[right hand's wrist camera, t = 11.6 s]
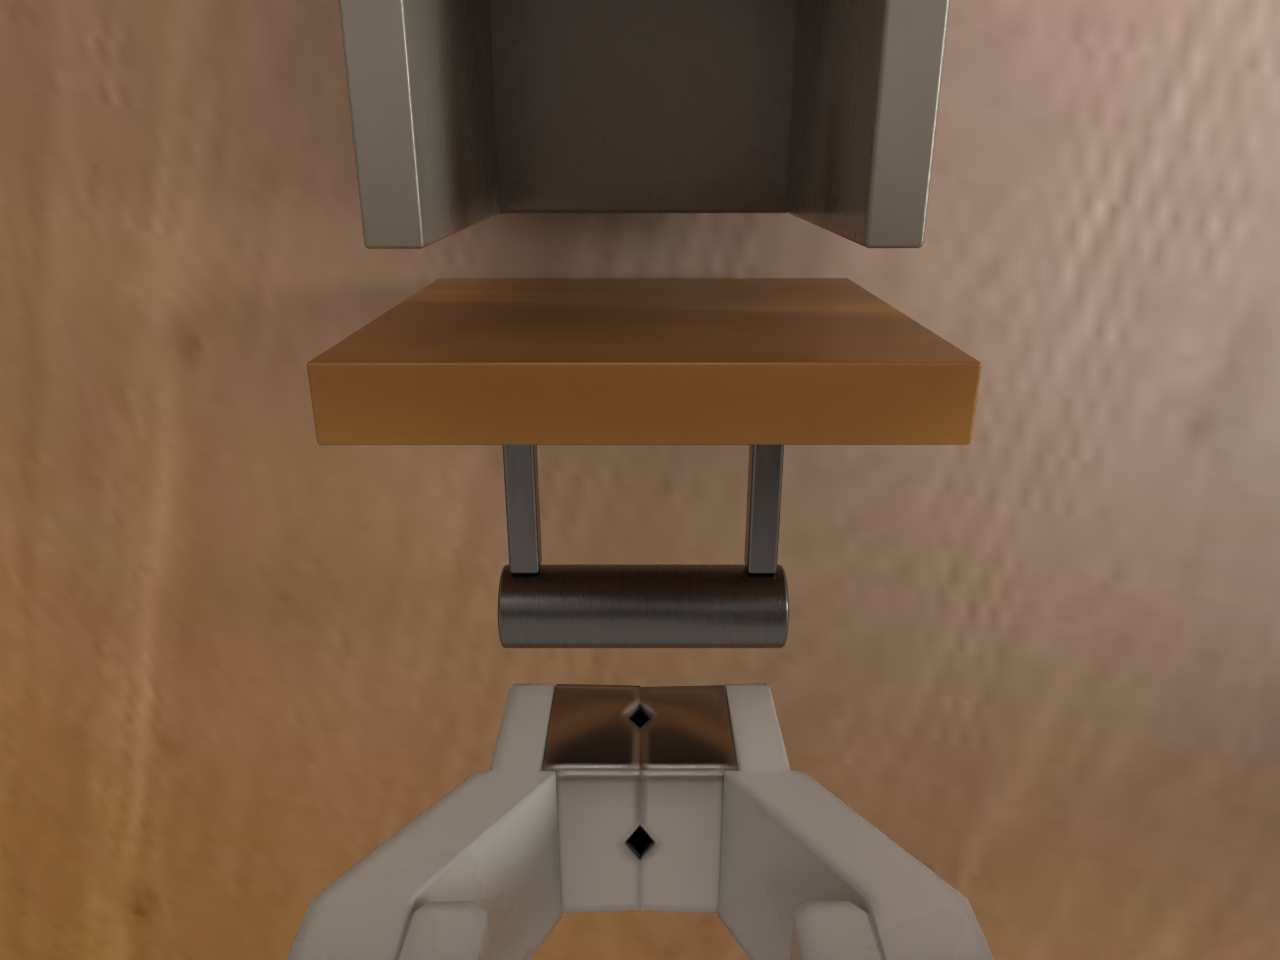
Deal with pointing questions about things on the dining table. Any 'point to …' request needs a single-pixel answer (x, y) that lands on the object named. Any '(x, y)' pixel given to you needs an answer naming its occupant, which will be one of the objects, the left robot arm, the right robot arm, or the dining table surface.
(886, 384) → the drawer
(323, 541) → the dining table surface
